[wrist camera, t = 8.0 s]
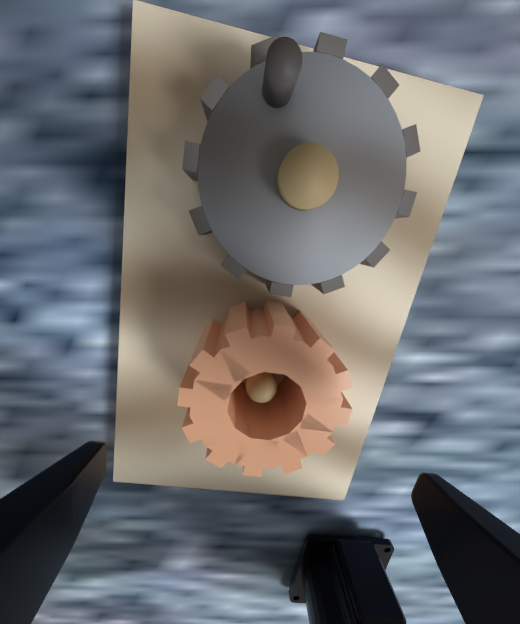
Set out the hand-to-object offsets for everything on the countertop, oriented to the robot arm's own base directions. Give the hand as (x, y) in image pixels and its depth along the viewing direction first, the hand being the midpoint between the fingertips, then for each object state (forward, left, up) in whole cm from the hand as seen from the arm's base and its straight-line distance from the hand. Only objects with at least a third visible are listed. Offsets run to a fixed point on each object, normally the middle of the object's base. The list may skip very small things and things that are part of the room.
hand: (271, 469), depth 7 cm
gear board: (+2, 0, -8) cm, 8 cm away
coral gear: (0, 0, -6) cm, 7 cm away
